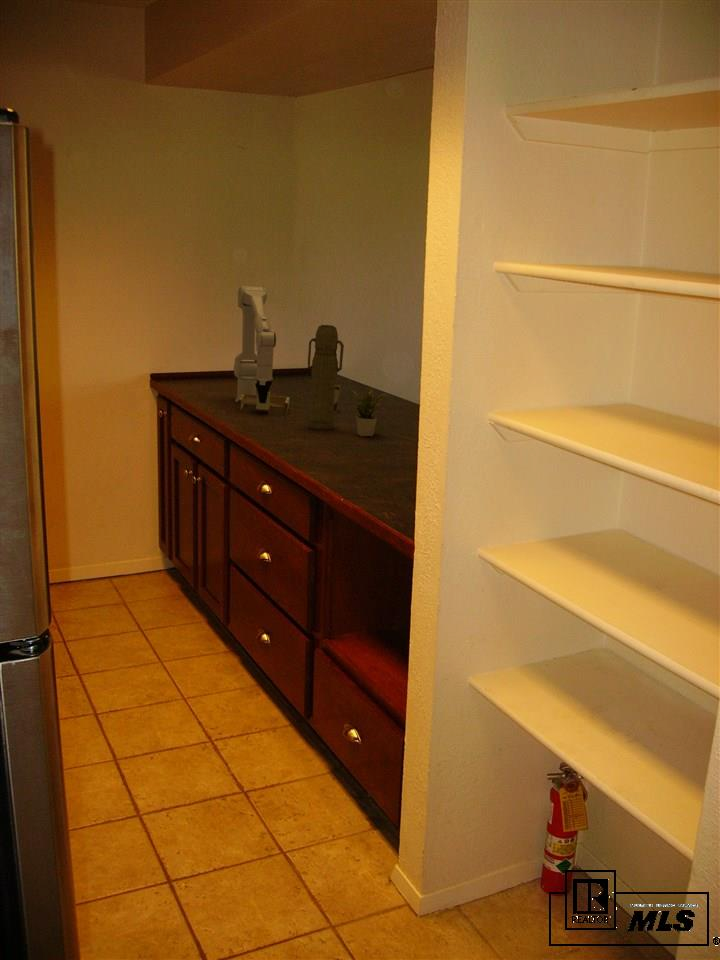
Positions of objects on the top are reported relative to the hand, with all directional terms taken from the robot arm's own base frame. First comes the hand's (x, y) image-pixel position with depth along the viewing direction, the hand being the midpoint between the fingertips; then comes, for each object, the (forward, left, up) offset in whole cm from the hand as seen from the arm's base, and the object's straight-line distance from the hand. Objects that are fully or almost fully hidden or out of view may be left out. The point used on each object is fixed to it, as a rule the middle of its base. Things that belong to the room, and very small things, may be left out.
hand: (263, 401), depth 348 cm
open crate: (-7, 0, -4) cm, 8 cm away
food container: (-11, +22, -4) cm, 25 cm away
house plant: (+29, +38, -4) cm, 48 cm away
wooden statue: (+21, +22, -4) cm, 30 cm away
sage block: (0, 0, -2) cm, 2 cm away
